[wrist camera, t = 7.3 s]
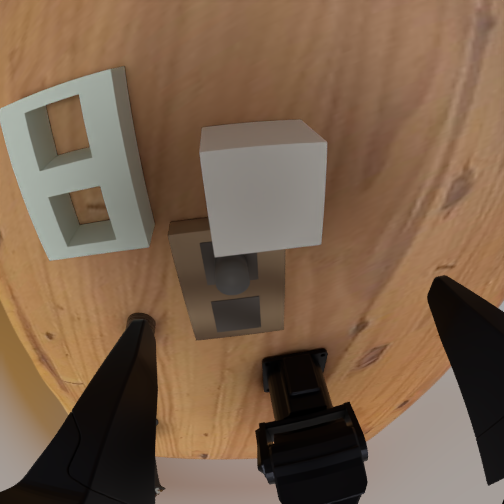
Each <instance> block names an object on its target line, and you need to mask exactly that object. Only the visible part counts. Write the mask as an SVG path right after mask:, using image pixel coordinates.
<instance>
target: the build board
mask: <svg viewBox="0 0 504 504" xmlns="http://www.w3.org/2000/svg"><path fill="white" fill-rule="evenodd" d="M78 94H79V97H80V103H81V108H82V113H83V118H84V123H85V127H86V132H87V136H88V141H89V145H90V147H88V148H84V149H80V150H76V151H72V152H68V153H65V154H61V155H57V151H56V147H55V144H54V140H53V136H52V131H51V127H50V123H49V118H48V114H47V109H46V105H47V104H50V103H53V102H56V101H59V100H62V99H65V98H68V97H71V96H74V95H78ZM0 123H1V127H2V131H3V135H4V139H5V143H6V146H7V150H8V153H9V157H10V160H11V163H12V167H13V170H14V173H15V176H16V179H17V182H18V185H19V188H20V191H21V193H22V196H23V199H24V202H25V204H26V207H27V210H28V212H29V215H30V217H31V220H32V222H33V225H34V227H35V229H36V232H37V234H38V236H39V239H40V241H41V243H42V245H43V248H44V250H45V252H46V254H47V256H48V258H49V261H51V260H58V259H65V258H73V257H80V256H87V255H95V254H102V253H109V252H117V251H124V250H132V249H140V248H148V247H149V246H150V242H151V238H152V234H153V230H154V226H155V223H154V219H153V215H152V211H151V206H150V202H149V198H148V194H147V189H146V185H145V180H144V176H143V171H142V166H141V161H140V156H139V151H138V146H137V141H136V136H135V131H134V125H133V119H132V113H131V107H130V101H129V95H128V88H127V82H126V75H125V67H124V66H122V67H117V68H113V69H109V70H105V71H101V72H98V73H94V74H91V75H87V76H84V77H81V78H78V79H74V80H71V81H68V82H65V83H62V84H59V85H57V86H54V87H51V88H48V89H46V90H43V91H40V92H38V93H35V94H33V95H30V96H28V97H25V98H23V99H21V100H18V101H16V102H14V103H12V104H9V105H7V106H5V107H3V108H1V109H0ZM97 186H100V188H101V191H102V195H103V198H104V201H105V205H106V208H107V211H108V215H109V218H110V220H107V221H100V222H94V223H89V224H83V225H80V224H79V221H78V219H77V216H76V213H75V210H74V207H73V204H72V201H71V198H70V195H69V192H73V191H78V190H83V189H87V188H92V187H97Z"/></svg>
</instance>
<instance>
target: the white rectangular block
mask: <svg viewBox="0 0 504 504" xmlns="http://www.w3.org/2000/svg"><path fill="white" fill-rule="evenodd" d="M199 154H200V161H201V169H202V176H203V183H204V190H205V197H206V204H207V211H208V218H209V224H210V231H211V237H212V244H213V250H214V256H215V257H223V256H231V255H239V254H248V253H256V252H264V251H272V250H281V249H289V248H297V247H306V246H314V245H321V240H322V228H323V215H324V200H325V184H326V164H327V141H325V140H324V139H323V138H322V137H321V136H320V135H319V134H317V133H316V132H315V131H314V130H313V129H311V128H310V127H309V126H308V125H307V124H306V123H304V122H303V121H302V120H301V119H297V120H276V121H261V122H248V123H237V124H227V125H218V126H209V127H202V130H201V140H200V151H199Z"/></svg>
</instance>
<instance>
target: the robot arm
mask: <svg viewBox="0 0 504 504" xmlns="http://www.w3.org/2000/svg"><path fill="white" fill-rule="evenodd" d="M427 300H428V304H429V307H430V309H431V312H432V315H433V318H434V321H435V324H436V327H437V330H438V333H439V336H440V339H441V342H442V344H443V347H444V349H445V352H446V354H447V356H448V359H449V361H450V364H451V366H452V369H453V372H454V374H455V377H456V379H457V382H458V385H459V388H460V390H461V393H462V396H463V399H464V402H465V405H466V408H467V411H468V414H469V417H470V420H471V423H472V427H473V430H474V433H475V437H476V441H477V444H478V448H479V452H480V456H481V459H482V464H483V468H484V472H485V476H486V481H487V484H488V485H491V484H493V483H495V482H497V481H499V480H501V479H503V478H504V312H503V311H501V310H500V309H498V308H497V307H495V306H494V305H492V304H491V303H489V302H488V301H486V300H485V299H483V298H482V297H480V296H478V295H477V294H475V293H474V292H472V291H471V290H469V289H467V288H466V287H464V286H463V285H461V284H459V283H458V282H456V281H454V280H453V279H451V278H449V277H448V276H445V275H443V276H438V277H435V278H434V280H433V282H432V285H431V287H430V290H429V292H428V296H427ZM327 355H328V353H327V350H326V349H321V350H315V351H310V352H304V353H298V354H292V355H286V356H279V357H273V358H266V359H264V360H263V361H262V371H263V388H264V392H270V396H271V402H272V407H273V413H274V418H275V421H273V422H268V423H265V422H263V423H259V429H257V430H256V431H255V432H256V439H257V464H258V465H257V466H258V470H259V471H260V472H262V473H263V474H264V475H265V477H266V478H267V480H268V483H269V484H276V488H277V493H278V497H279V500H280V502H281V503H282V504H358V502H359V499H360V497H361V495H362V494H364V493H365V490H366V486H367V476H366V471H365V467H364V461H367V460H368V450H367V445H366V441H365V437H364V434H363V432H362V430H361V427H360V425H359V423H358V420H357V418H356V416H355V413H354V411H353V409H352V406H351V404H350V402H346V403H344V404H342V405H339V406H335V407H333V406H332V402H331V399H330V396H329V392H328V389H327V386H326V382H325V379H324V376H323V372H324V368H325V363H326V359H327ZM157 397H158V384H157V362H156V341H155V337H154V334H153V332H152V330H151V327H150V325H149V323H148V321H147V320H146V319H138V320H133V321H132V322H131V323H130V324H129V326H128V327H127V329H126V330H125V332H124V333H123V334H122V336H121V337H120V339H119V340H118V342H117V343H116V344H115V346H114V347H113V349H112V350H111V352H110V353H109V355H108V356H107V358H106V359H105V360H104V362H103V363H102V365H101V366H100V368H99V369H98V371H97V372H96V374H95V375H94V377H93V378H92V380H91V381H90V383H89V384H88V386H87V387H86V389H85V391H84V392H83V394H82V395H81V397H80V398H79V400H78V401H77V403H76V404H75V406H74V408H73V409H72V412H70V414H69V415H68V417H67V418H66V420H65V422H64V423H63V425H62V426H61V428H60V429H59V431H58V433H57V434H56V435H55V437H54V438H53V439H52V441H51V442H50V444H49V445H48V446H47V448H46V449H45V450H44V452H43V453H42V454H41V456H40V457H39V458H38V459H37V461H36V462H35V463H34V465H33V466H32V467H31V469H30V470H29V471H28V473H27V474H26V475H25V476H24V478H23V479H22V480H21V481H20V482H18V483H17V484H16V485H14V486H13V487H11V488H9V489H6V490H4V491H2V492H0V504H155V440H156V415H157ZM273 442H274V444H273ZM502 504H504V500H503V503H502Z"/></svg>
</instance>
